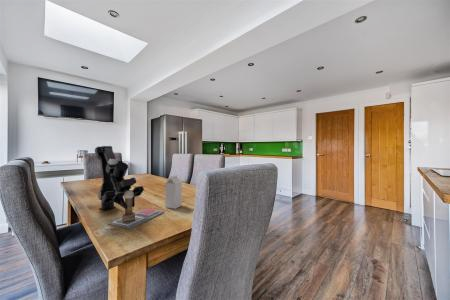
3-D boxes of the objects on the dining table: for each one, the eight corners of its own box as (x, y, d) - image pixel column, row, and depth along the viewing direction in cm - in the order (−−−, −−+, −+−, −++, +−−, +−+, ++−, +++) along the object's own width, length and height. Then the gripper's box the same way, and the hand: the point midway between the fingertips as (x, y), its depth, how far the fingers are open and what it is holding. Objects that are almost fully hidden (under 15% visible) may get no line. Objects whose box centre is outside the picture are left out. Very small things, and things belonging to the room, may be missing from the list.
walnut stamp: (122, 219, 93) (122, 189, 92) (133, 217, 96) (133, 188, 95) (123, 222, 89) (123, 192, 88) (135, 220, 92) (135, 190, 91)
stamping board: (107, 224, 88) (107, 220, 88) (144, 209, 110) (144, 206, 110) (130, 229, 83) (130, 225, 83) (164, 212, 105) (164, 209, 105)
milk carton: (181, 205, 118) (181, 175, 118) (175, 209, 111) (175, 177, 111) (172, 204, 120) (172, 175, 120) (165, 207, 113) (165, 176, 113)
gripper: (104, 174, 87) (115, 202, 80) (142, 171, 102) (154, 194, 95) (97, 189, 91) (107, 216, 85) (134, 183, 106) (145, 206, 100)
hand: (130, 207), depth 91 cm, fingers closed on walnut stamp, 3 cm apart
